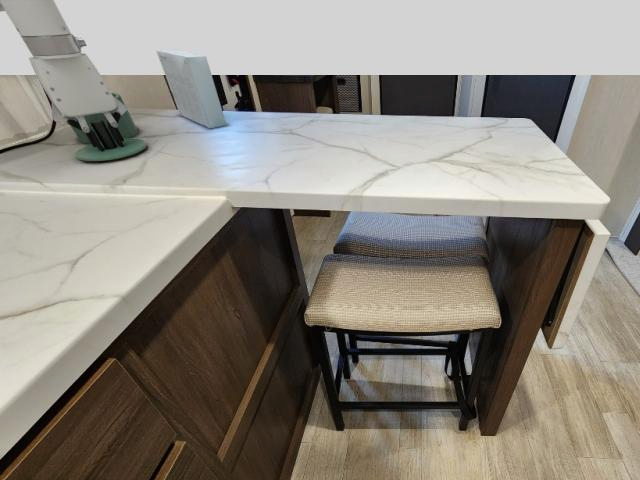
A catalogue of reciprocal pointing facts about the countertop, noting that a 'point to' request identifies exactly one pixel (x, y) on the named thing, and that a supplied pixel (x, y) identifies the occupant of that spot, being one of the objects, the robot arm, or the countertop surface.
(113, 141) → the tin lid
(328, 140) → the countertop surface
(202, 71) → the skincare box
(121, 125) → the tin
